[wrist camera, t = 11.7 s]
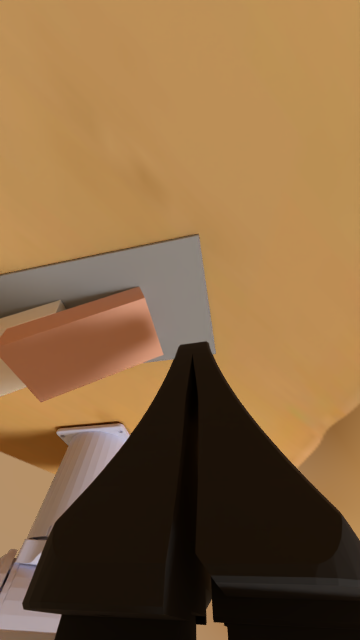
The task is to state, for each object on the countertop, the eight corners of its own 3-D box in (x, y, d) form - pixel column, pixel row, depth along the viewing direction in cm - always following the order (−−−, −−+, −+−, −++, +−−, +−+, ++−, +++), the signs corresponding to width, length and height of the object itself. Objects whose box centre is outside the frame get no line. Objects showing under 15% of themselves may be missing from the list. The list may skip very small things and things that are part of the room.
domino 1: (87, 364, 15) (-37, 410, 13) (88, 348, 17) (-22, 387, 15) (55, 312, 13) (-99, 361, 11) (60, 299, 14) (-74, 341, 13)
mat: (215, 350, 17) (215, 353, 16) (-61, 385, 20) (-65, 389, 20) (198, 233, 12) (198, 235, 12) (-160, 307, 16) (-167, 310, 15)
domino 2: (163, 354, 14) (40, 402, 13) (156, 338, 16) (47, 379, 14) (144, 297, 12) (-9, 348, 10) (139, 286, 13) (6, 328, 12)
